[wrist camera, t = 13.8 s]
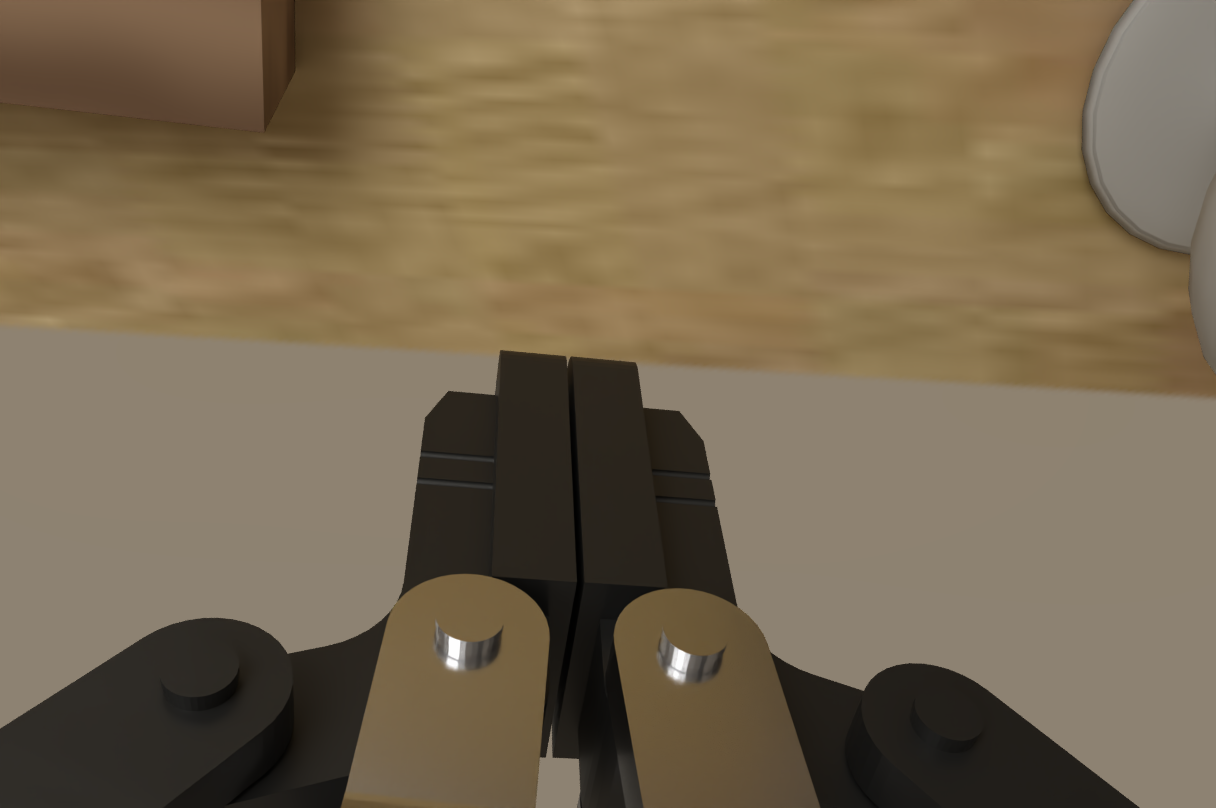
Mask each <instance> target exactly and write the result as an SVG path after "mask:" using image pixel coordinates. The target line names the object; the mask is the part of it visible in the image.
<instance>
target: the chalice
mask: <svg viewBox="0 0 1216 808" xmlns="http://www.w3.org/2000/svg"><path fill="white" fill-rule="evenodd" d="M1082 153H1083V157H1084V161H1085V165H1086V169H1087V174H1088V178H1089V182H1090V185H1091V186H1092V188H1093V190H1094V192H1095V193H1096V195H1097V197H1098V199H1099V200H1100V202H1101V204H1102V205H1103V207H1104V209H1105V211H1106V212H1107V213H1108V214H1109V215H1110V216H1111V217H1112V218H1113V219H1114V220H1115V221H1116V222H1118V223H1119V224H1120V225H1121V226H1122V227H1123V228H1124V229H1125V230H1126V231H1127V232H1128V233H1129V234H1131V235H1133V236H1135V237H1137V238H1139V239H1141V240H1143V241H1145V242H1147V243H1149V244H1151V245H1154V246H1156V247H1158V248H1160V249H1165V250H1170V251H1175V252H1180V253H1185V254H1189V255H1190V271H1189V288H1188V289H1189V296H1190V303H1191V310H1192V315H1193V319H1194V323H1195V327H1196V330H1197V334H1198V338H1199V341H1200V345H1201V349H1202V353H1203V356H1204V358H1205V360H1206V361H1207V362H1208V364H1209V365H1210V367H1211V368H1212V370H1213V371H1214V373H1215V374H1216V0H1133V1H1132V3H1131V4H1130V6H1129V7H1128V8H1127V10H1126V11H1125V12H1124V14H1123V15H1122V17H1121V18H1120V19H1119V21H1118V22H1117V23H1116V25H1115V26H1114V28H1113V30H1112V32H1111V34H1110V36H1109V38H1108V40H1107V42H1106V44H1105V46H1104V48H1103V50H1102V53H1101V55H1100V57H1099V59H1098V61H1097V63H1096V65H1095V67H1094V69H1093V73H1092V77H1091V80H1090V84H1089V88H1088V92H1087V96H1086V100H1085V104H1084V108H1083V116H1082Z"/></svg>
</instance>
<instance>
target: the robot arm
mask: <svg viewBox="0 0 1216 808" xmlns="http://www.w3.org/2000/svg"><path fill="white" fill-rule="evenodd" d="M551 725H552V751H553V752H552V753H553V758H574V759H575V758H576V759H579V769H580V795H579V800H578V805H577V808H1139V807H1138V806H1137V805H1135V804H1134V803H1133V802H1132V801H1130V800H1129V799H1128V798H1126V797H1125V796H1124V795H1122V794H1121V793H1120V792H1119V791H1117V790H1116V789H1115V788H1113V787H1112V786H1111V785H1109V784H1108V783H1107V782H1106V781H1104V780H1103V779H1102V778H1100V777H1099V776H1098V775H1097V774H1095V773H1094V772H1093V771H1091V770H1090V769H1089V768H1087V767H1086V766H1085V765H1083V764H1082V763H1081V762H1080V761H1078V760H1077V759H1076V758H1075V757H1073V756H1072V755H1071V754H1069V753H1068V752H1067V751H1065V750H1064V749H1063V748H1061V747H1060V746H1059V745H1058V744H1056V743H1055V742H1054V741H1052V740H1051V739H1050V738H1049V737H1047V736H1046V735H1045V734H1043V733H1042V732H1041V731H1039V730H1038V729H1037V728H1036V727H1034V726H1033V725H1032V724H1031V723H1029V722H1028V721H1027V720H1025V719H1024V718H1022V717H1021V716H1020V715H1019V714H1017V713H1016V712H1015V711H1014V710H1012V709H1011V708H1009V707H1008V706H1007V705H1006V704H1005V703H1003V702H1002V701H1001V700H999V699H998V698H997V697H996V696H994V695H993V694H992V693H990V692H989V691H988V690H986V689H985V688H983V687H982V686H981V685H979V684H978V683H976V682H975V681H973V680H971V679H969V678H967V677H965V676H963V675H961V674H959V673H956V672H954V671H951V670H949V669H945V668H942V667H938V666H934V665H927V664H912V663H909V664H902V665H896V666H893V667H890V668H887V669H885V670H883V671H881V672H880V673H878V674H877V675H876V676H875V677H874V678H872V679H871V680H870V682H869V684H868V685H867V686H866V688H865V690H864V691H862V690H859V689H856V688H852V687H850V686H847V685H844V684H841V683H837V682H834V681H831V680H828V679H825V678H822V677H819V676H816V675H813V674H810V673H808V672H805V671H802V670H800V669H798V668H796V667H794V666H792V665H790V664H788V663H786V662H784V661H783V660H781V659H780V658H778V657H776V656H775V655H774V654H772V653H771V652H770V650H769V647H768V644H767V642H766V639H765V637H764V635H763V633H762V632H761V630H760V629H759V627H758V626H757V625H756V623H755V622H754V621H753V620H752V619H751V618H750V617H749V616H748V615H747V614H746V613H744V612H743V611H742V610H741V609H740V608H738V607H737V603H736V599H735V593H734V589H733V584H732V578H731V574H730V569H729V564H728V559H727V554H726V549H725V544H724V539H723V535H722V530H721V525H720V520H719V515H718V510H717V507H715V495H714V491H713V486H712V481H711V480H710V471H709V466H708V461H707V457H706V451H705V447H704V442H703V440H702V439H701V438H700V436H699V435H698V434H697V433H696V431H695V430H694V429H693V428H692V426H691V425H690V424H689V423H688V422H687V420H686V419H685V418H684V417H683V415H682V414H681V413H680V412H679V411H671V410H659V409H649V408H643V405H642V397H641V389H640V382H639V376H638V368H637V365H636V363H635V362H625V361H614V360H603V359H593V358H582V357H570V359H569V363H568V367H567V360H566V356H558V355H547V354H537V353H526V352H515V351H504V350H500V356H499V363H498V373H497V381H496V391H495V395H486V394H475V393H465V392H453V391H448V392H447V393H446V395H445V396H444V397H443V398H442V399H441V400H440V401H439V402H438V404H437V405H436V406H435V407H434V408H433V410H432V411H431V412H430V413H429V414H428V415H427V416H426V417H425V423H424V431H423V438H422V446H421V456H420V462H419V469H418V477H417V485H416V492H415V501H414V508H413V515H412V523H411V531H410V540H409V546H408V555H407V562H406V570H405V578H404V584H403V588H402V592H401V594H400V596H399V599H398V601H397V603H396V604H395V605H394V607H393V608H392V610H391V611H390V612H389V613H388V614H387V615H386V616H385V617H384V618H383V619H382V621H380V622H379V623H377V624H376V625H375V626H373V627H372V628H371V629H369V630H368V631H366V632H364V633H362V634H360V635H358V636H356V637H354V638H351V639H349V640H346V641H344V642H341V643H337V644H333V645H329V646H325V647H320V648H315V649H310V650H305V651H300V652H295V653H290V654H287V652H286V651H285V649H284V648H283V647H282V645H281V644H280V643H279V642H278V641H277V640H276V639H275V638H274V637H273V636H272V635H270V634H269V633H267V632H265V631H264V630H262V629H260V628H259V627H256V626H254V625H251V624H249V623H245V622H242V621H237V620H233V619H223V618H201V619H194V620H188V621H183V622H179V623H175V624H172V625H169V626H167V627H164V628H161V629H159V630H157V631H155V632H153V633H151V634H149V635H147V636H146V637H144V638H142V639H141V640H139V641H137V642H136V643H134V644H133V645H131V646H130V647H128V648H127V649H125V650H123V651H122V652H120V653H119V654H117V655H115V656H114V657H112V658H111V659H109V660H108V661H106V662H104V663H103V664H101V665H100V666H98V667H97V668H95V669H93V670H92V671H90V672H89V673H87V674H86V675H84V676H82V677H81V678H79V679H78V680H76V681H75V682H73V683H71V684H70V685H68V686H67V687H65V688H64V689H62V690H60V691H59V692H57V693H56V694H54V695H53V696H51V697H49V698H48V699H46V700H45V701H43V702H42V703H40V704H38V705H37V706H36V707H34V708H32V709H30V710H29V711H27V712H26V713H24V714H23V715H21V716H20V717H18V718H16V719H15V720H13V721H12V722H10V723H9V724H7V725H5V726H4V727H2V728H1V729H0V808H536V796H537V784H538V773H539V761H540V757H546V753H547V747H548V742H549V736H550V730H551Z"/></svg>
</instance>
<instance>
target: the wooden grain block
mask: <svg viewBox="0 0 1216 808" xmlns="http://www.w3.org/2000/svg"><path fill="white" fill-rule="evenodd" d="M294 72H295V12H294V0H0V103H9V104H18V105H27V106H35V107H44V108H53V109H62V110H70V111H79V112H88V113H97V114H105V115H114V116H123V117H131V118H140V119H149V120H158V121H166V122H175V123H184V124H193V125H201V126H210V127H219V128H228V129H236V130H245V131H254V132H262V133H264V132H265V130H266V128H267V126H268V124H269V122H270V120H271V118H272V116H273V114H274V112H275V110H276V108H277V106H278V104H279V102H280V100H281V98H282V96H283V94H284V92H285V90H286V88H287V86H288V84H289V82H290V80H291V78H292V76H293V74H294Z"/></svg>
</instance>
